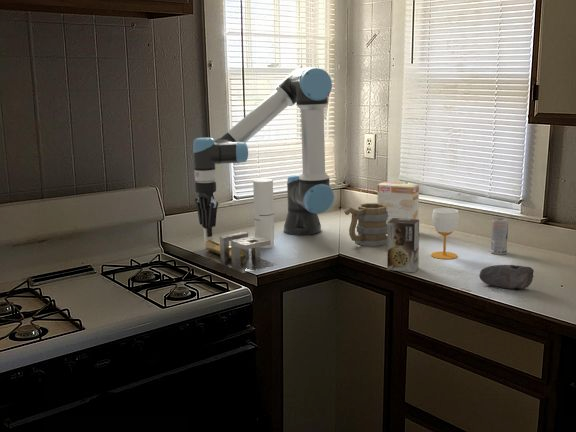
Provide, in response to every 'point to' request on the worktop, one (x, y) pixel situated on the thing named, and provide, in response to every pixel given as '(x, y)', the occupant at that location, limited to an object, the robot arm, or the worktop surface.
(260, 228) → the cylindrical container
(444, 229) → the cup
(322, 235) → the worktop surface
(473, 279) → the worktop surface
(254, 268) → the hearth plate
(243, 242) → the white stool-shaped bracket
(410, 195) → the coffeecake box
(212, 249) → the tan cylinder
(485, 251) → the worktop surface
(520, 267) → the perforated stone tool
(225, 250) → the grey angled bracket piece
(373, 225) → the tankard
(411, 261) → the grey cookie box
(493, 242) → the energy drink
